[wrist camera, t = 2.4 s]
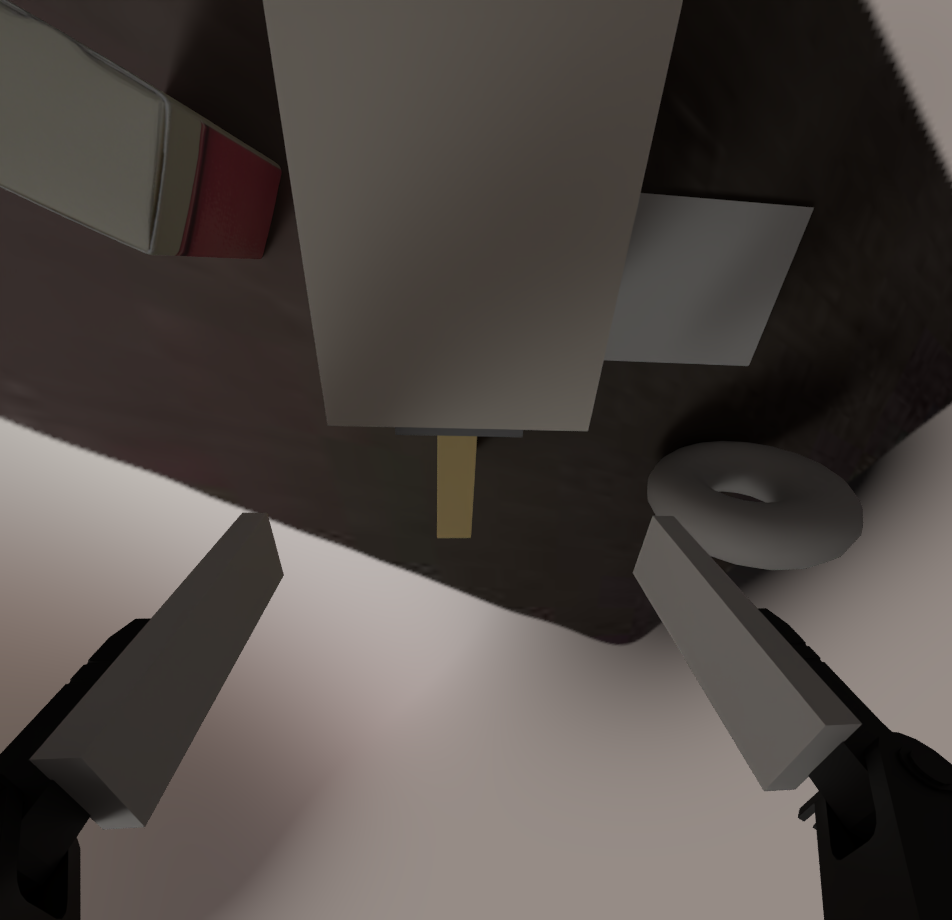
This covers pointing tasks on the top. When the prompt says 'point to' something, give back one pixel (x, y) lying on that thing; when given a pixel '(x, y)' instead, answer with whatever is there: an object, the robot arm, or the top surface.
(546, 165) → the large beige block
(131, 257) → the top surface
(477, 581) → the top surface
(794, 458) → the donut
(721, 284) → the mat
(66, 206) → the small box
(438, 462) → the yellow rectangular slab
